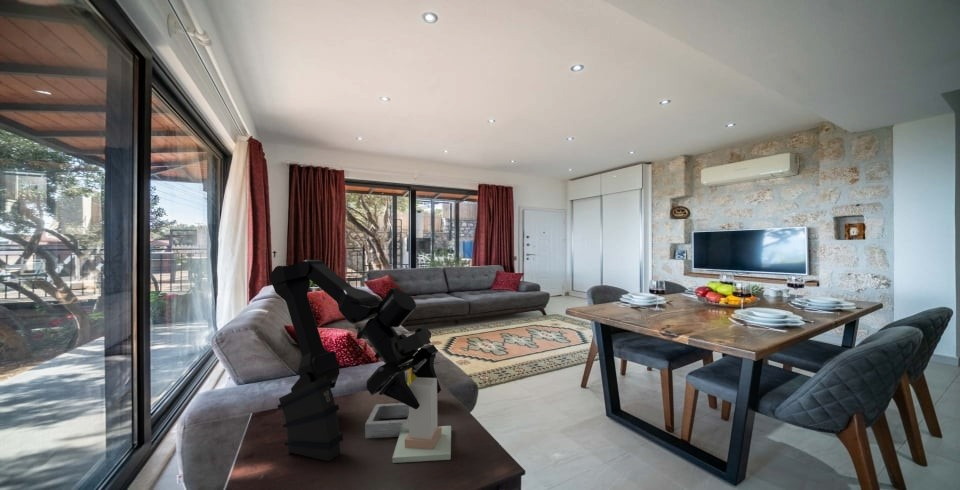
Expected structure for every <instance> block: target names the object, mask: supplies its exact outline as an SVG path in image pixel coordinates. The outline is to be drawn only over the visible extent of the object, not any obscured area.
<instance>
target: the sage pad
mask: <svg viewBox="0 0 960 490" xmlns="http://www.w3.org/2000/svg"><path fill="white" fill-rule="evenodd" d="M441 427H442V434H441V436H440V438H439V440H438V442H437V444H436V446H435V448H434V449H421V448H407V447H405V438H406V437H407V436H408V434H409V431H407V432H400V435H399V437H398V438H397V442H396V445H395V447H394V451H393V453H392V464H396V463H400V464H401V463H413V462H415V463H417V462H429V461H430V462H431V461H447V460H448V461H449V460H451V459H452V458H451V455H452V425H441Z"/></svg>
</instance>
